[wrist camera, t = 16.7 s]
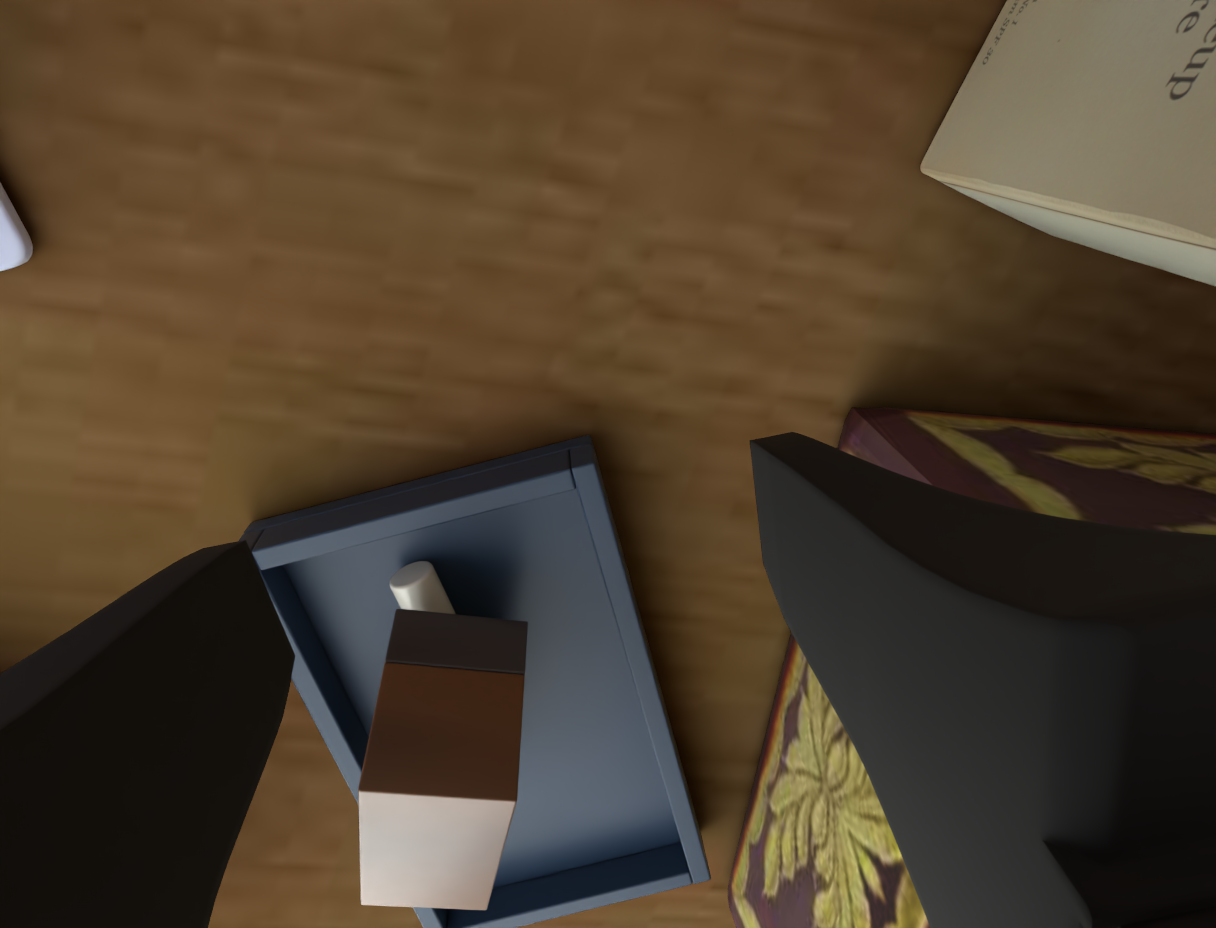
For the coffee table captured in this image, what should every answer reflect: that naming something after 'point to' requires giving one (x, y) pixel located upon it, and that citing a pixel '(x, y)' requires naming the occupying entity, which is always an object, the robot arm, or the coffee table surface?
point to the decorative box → (805, 719)
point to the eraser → (442, 761)
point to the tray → (554, 674)
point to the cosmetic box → (1094, 127)
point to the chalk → (420, 589)
